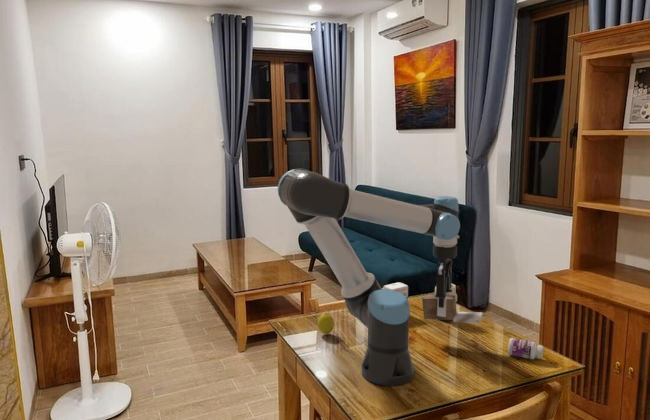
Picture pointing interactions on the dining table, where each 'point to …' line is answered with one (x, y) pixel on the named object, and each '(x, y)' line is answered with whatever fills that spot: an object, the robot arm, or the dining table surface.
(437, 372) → the dining table surface
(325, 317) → the lemon
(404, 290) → the ink box
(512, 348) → the pill bottle
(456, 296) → the character mug
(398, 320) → the robot arm
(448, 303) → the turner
